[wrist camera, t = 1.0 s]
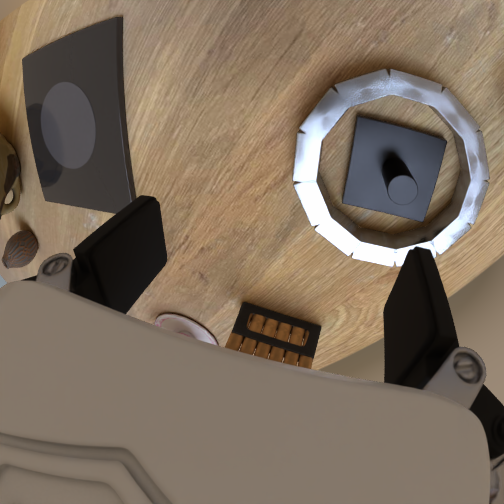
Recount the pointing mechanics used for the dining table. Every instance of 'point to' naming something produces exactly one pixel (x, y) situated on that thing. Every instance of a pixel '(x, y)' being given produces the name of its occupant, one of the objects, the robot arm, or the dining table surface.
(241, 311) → the ammunition clip
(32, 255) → the vase
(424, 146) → the ring stand
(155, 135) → the dining table surface
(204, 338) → the teacup
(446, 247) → the steel ring
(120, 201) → the hob plate
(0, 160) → the bowl
